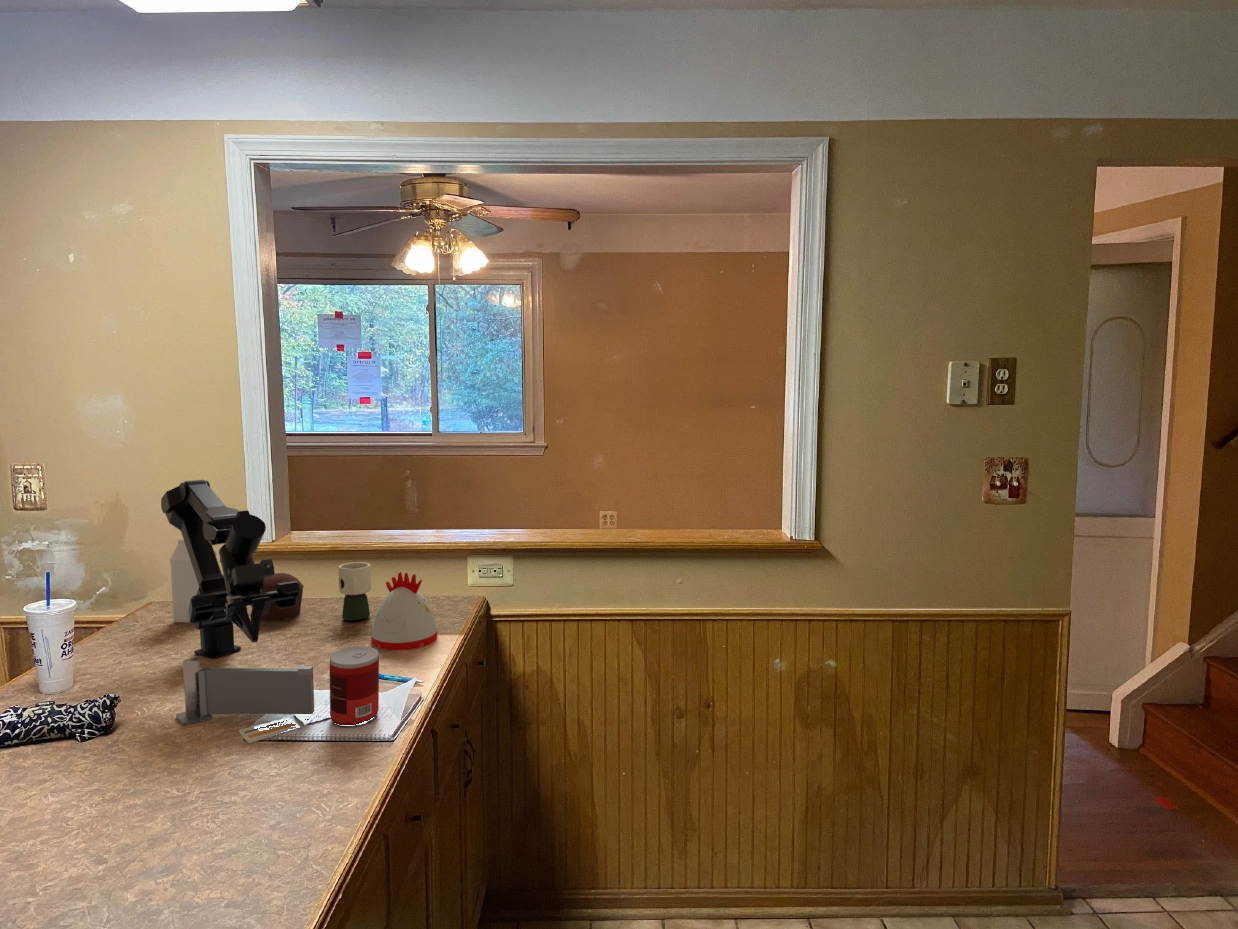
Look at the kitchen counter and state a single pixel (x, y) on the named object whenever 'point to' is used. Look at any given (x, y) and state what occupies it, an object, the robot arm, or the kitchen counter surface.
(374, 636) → the kitchen timer
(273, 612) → the muffin
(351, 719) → the canned food
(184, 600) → the milk carton
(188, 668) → the hinge post
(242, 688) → the hinge panel
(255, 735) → the label plate beige
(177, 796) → the kitchen counter surface
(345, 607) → the character mug
